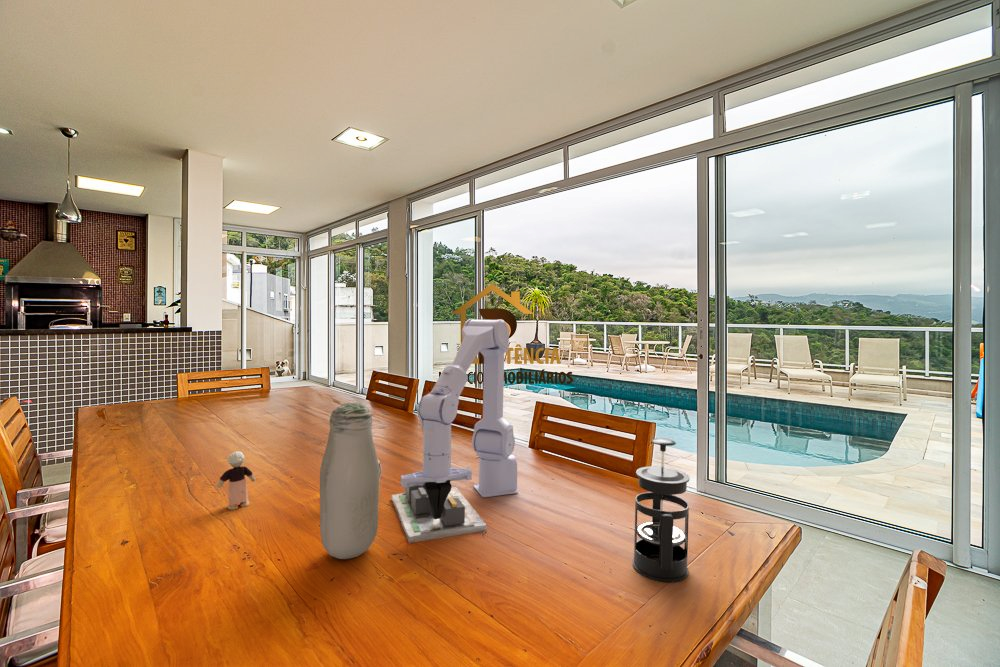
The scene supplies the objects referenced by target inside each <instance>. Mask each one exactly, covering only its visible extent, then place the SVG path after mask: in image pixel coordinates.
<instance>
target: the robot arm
mask: <svg viewBox="0 0 1000 667" xmlns="http://www.w3.org/2000/svg"><path fill="white" fill-rule="evenodd" d="M509 334H510V328H509V326H508V325H507V323H506V321H505V320H504V319H502V318H501V319H499V318H498V319H475V318H474V319H473V318H468V319H467V320H466V321H465V323H464V325H463V327H462V329H461V336H462V337H461V338H462V342H461V344H460V345H459V348H458V349H457V353H456V355H455V357H454V360H453V361H452V364H451V365H447V366H445V367H444V368H443V370H442V372H441V373H440V375H439V377H438V379H437V380H436V382H435V384H434V385H433V388H432V389H431V391H430V393H427V394H425V395H424V396H422V397H421V399H420V401H418V402H419V403H418V408H417V409H416V412H417V417H418V418H419V420H420V428H421V430H422V431H423V435H422V436H423V437H422V441H423V442H422V452H423V453H422V470H421V471H417V472H413V473H409V474H404V475H403V474H402V475H400V486H401V488H402V489H404V488H406V487H408V486H413V485H422V484H423V486H424V488H425V490H426V493H427V495H428V498H429V501H430V504H431V509H432V516H433V518H434V519H440V518H441V513H442V509H443V506H444V503H445V501H446V498H447V496H448V494H449V493H450V491H451V487H453V486H452V484H451V482H453V481H462V480H463V481H464V480H466V481H472V478H473V476H472V475H473V472H472V470H471V469H470V468H468V467H467V468H466V467H465V468H452V466H451V465H452V423H453V422H454V420H455V419H456V416H457V414H458V406H459V404H460V399H459V398H460V396H461V394H462V392H463V390H464V388H465V386H466V384H467V382H468V379H469V378H468V375H467V372H468V370H469V369H470V367H471V366H472V364H473V362H474V361H475V359H476V358H477V356H478V355H479V353H480V354H481V355H482V356H483V392H482V394H483V397H482V398H483V399H482V400H483V401H482V418H481V419H480V420H478V421H476V423H475V424H474V426H473V434H472V437H471V447H472V449H473V451H474V452H475V453H476V456H477V457H478V483H477V484H473V488H474V490H476V491H477V493H478V494H480V496H481V497H482V498H490V497H496V496H504V495H511V494H518V493H519V490H518V463H517V458H516V457H515V455H514V454H513V452H514V450H515V445H516V439H515V436H514V426H513V425H512V424H511V422H509V421H508V420H506V418H505V417H504V383H505V382H504V381H505V380H504V378H505V377H504V376H505V353H507V352H508V351H509V344H510V343H509V342H510V340H509V339H510V335H509Z"/></svg>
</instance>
